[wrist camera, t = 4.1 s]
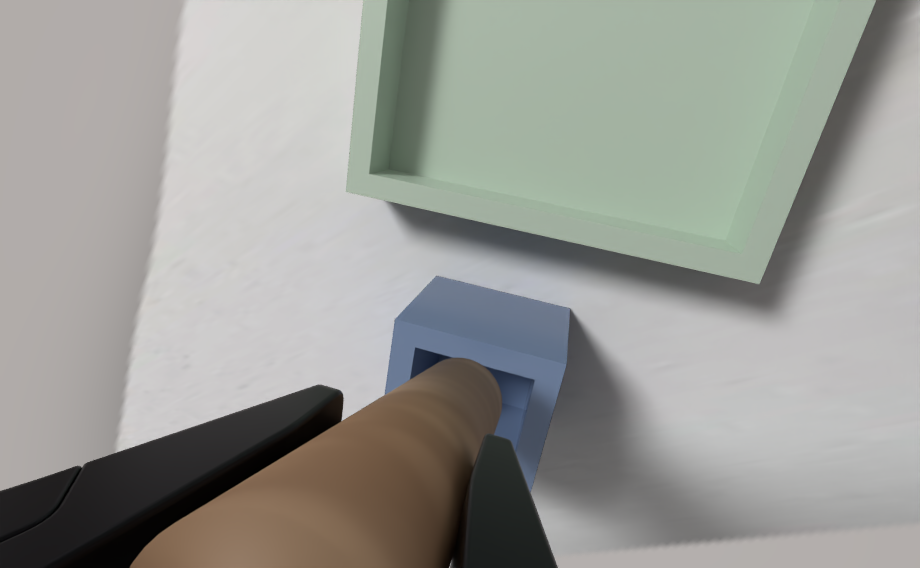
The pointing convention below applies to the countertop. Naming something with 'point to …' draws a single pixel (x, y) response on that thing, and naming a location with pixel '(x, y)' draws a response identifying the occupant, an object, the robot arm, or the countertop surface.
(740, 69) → the sage tray
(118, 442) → the countertop surface
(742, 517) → the countertop surface
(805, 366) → the countertop surface
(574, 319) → the countertop surface
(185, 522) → the walnut dowel
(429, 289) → the slate blue cup
